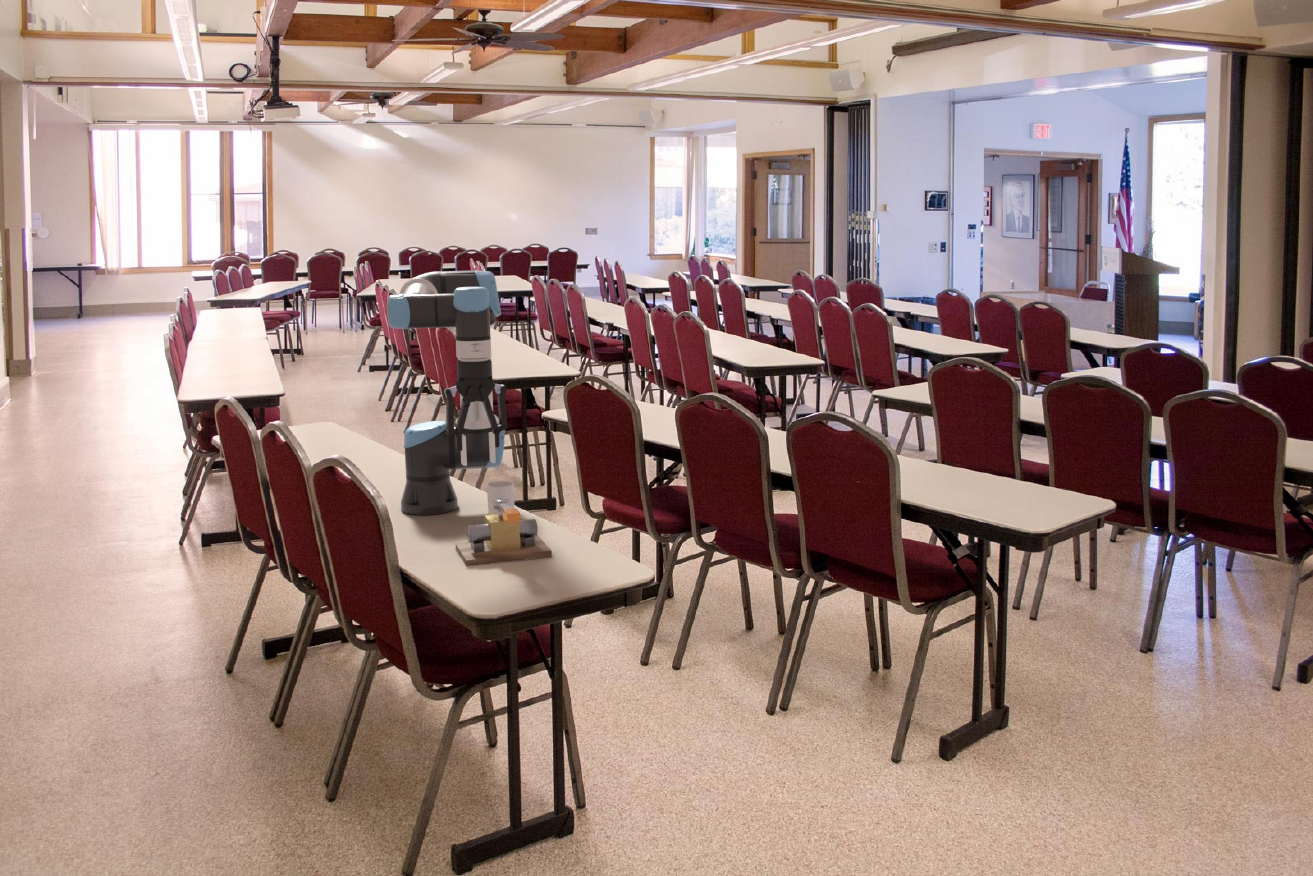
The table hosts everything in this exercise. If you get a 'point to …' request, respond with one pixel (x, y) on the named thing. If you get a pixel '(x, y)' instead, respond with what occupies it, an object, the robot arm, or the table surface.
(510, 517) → the valve lever
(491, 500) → the mug
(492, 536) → the valve body
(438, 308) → the robot arm
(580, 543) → the table surface
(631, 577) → the table surface
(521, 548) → the base board
